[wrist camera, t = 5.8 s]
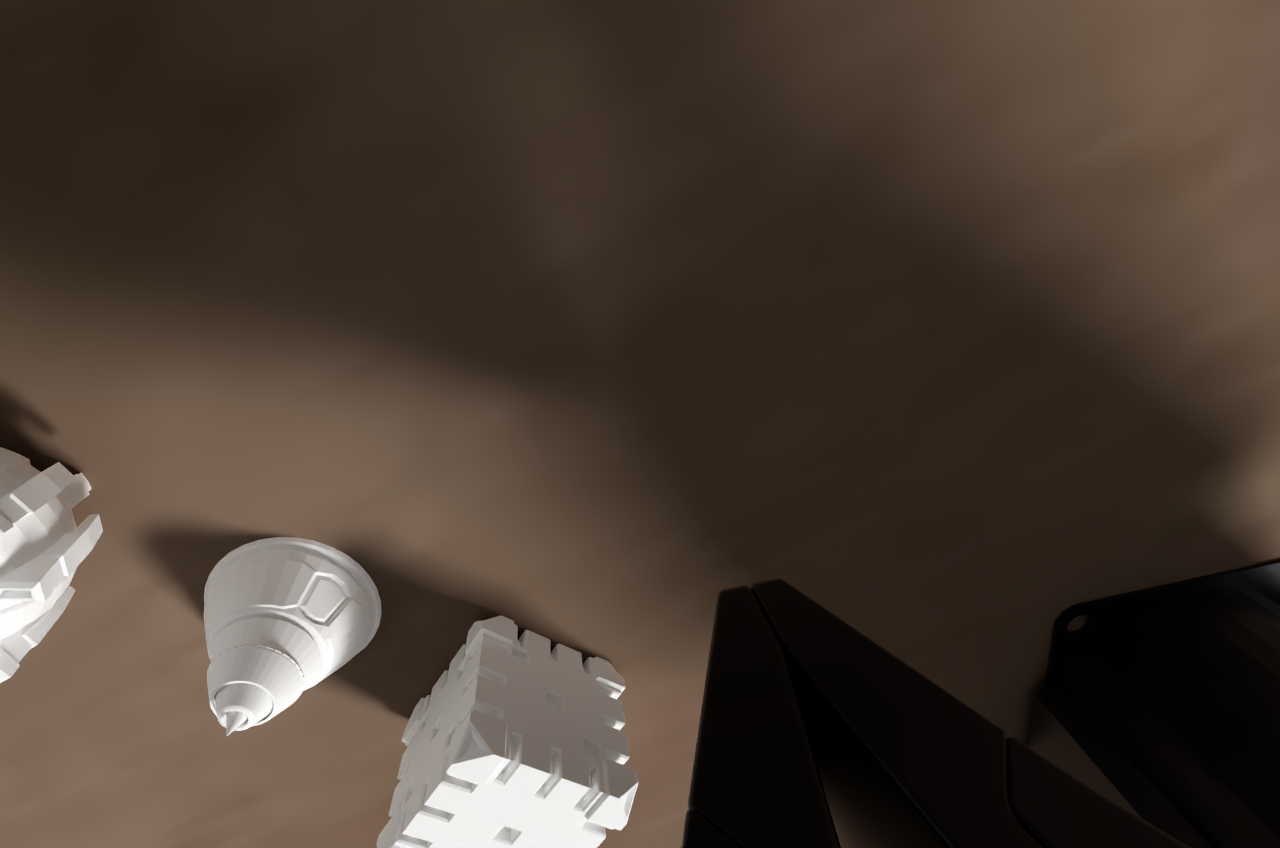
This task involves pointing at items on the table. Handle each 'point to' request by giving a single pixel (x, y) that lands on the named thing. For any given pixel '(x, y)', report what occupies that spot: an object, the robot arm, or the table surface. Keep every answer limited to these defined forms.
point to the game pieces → (329, 638)
